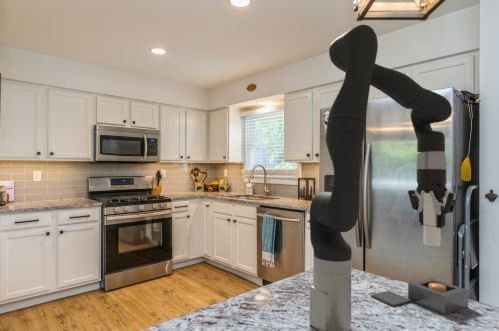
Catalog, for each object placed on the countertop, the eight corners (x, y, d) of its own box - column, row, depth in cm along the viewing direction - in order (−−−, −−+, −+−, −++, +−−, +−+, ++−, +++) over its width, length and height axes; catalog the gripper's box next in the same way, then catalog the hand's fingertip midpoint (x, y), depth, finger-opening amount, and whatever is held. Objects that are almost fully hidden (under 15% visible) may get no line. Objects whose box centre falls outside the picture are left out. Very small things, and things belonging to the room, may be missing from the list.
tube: (443, 246, 88) (442, 193, 88) (426, 245, 89) (425, 193, 89) (437, 242, 92) (436, 192, 92) (421, 242, 93) (420, 192, 93)
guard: (444, 314, 84) (444, 296, 85) (408, 299, 94) (408, 283, 94) (467, 307, 89) (467, 290, 90) (430, 293, 99) (430, 278, 99)
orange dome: (440, 296, 89) (440, 289, 89) (425, 290, 93) (425, 284, 93) (449, 293, 91) (449, 286, 91) (434, 288, 95) (434, 282, 95)
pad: (393, 306, 89) (393, 304, 89) (371, 296, 96) (371, 294, 96) (411, 301, 93) (411, 299, 93) (388, 292, 100) (388, 290, 100)
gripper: (400, 167, 95) (401, 223, 95) (448, 167, 82) (449, 232, 82) (416, 167, 99) (417, 221, 98) (464, 167, 86) (465, 229, 86)
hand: (431, 226), depth 90 cm, fingers closed on tube, 4 cm apart
